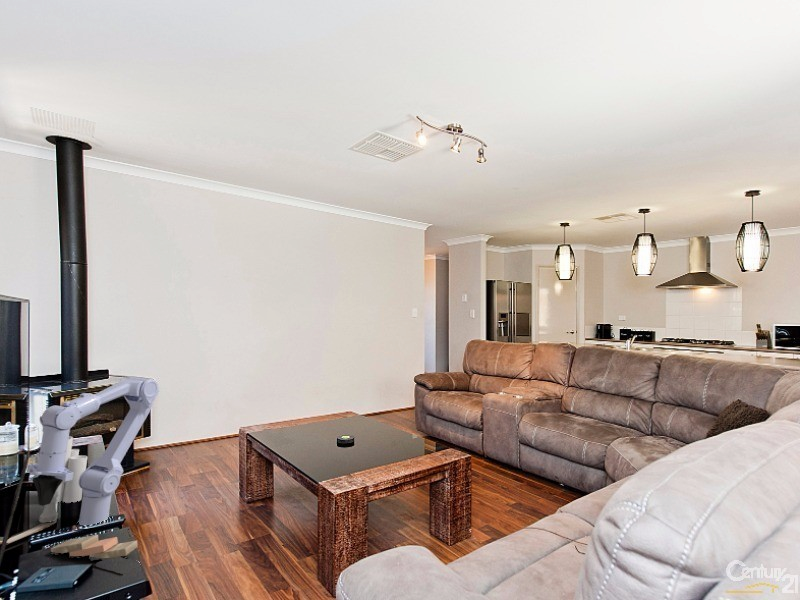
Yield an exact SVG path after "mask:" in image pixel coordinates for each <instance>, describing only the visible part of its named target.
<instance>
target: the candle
mask: <svg viewBox="0 0 800 600" xmlns="http://www.w3.org/2000/svg"><path fill="white" fill-rule="evenodd" d="M73 441H74V437H73V436H71V435H69V438H68V445H67V451H66V457H65V463H64V467H65V468H66V469H68V470H69V471H71V472H73V479H72V480H69V481H66V482H64V481H62V483H61V484H60V485H59V487H58V488H57V490H56V491H57V492H58V495H59V496H58V497H57V498H56V500H57V501H56V504H58V503H57V502H59V503H64V502H65V504H70V503H71V502H73V503H76V502H77V501H78V502H80V501H82V499H83V493H82V488H80V486H79V478H80V476H81V474H82V473H83V472H84V471H85V470H86V469H87V465H88V464H87V463H88V456H87V455H79V454H80V453H79V452H80V449H79V448H73ZM55 493H56V492H55ZM61 501H62V502H61Z"/></svg>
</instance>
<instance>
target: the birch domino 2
mask: <svg viewBox="0 0 800 600" xmlns="http://www.w3.org/2000/svg"><path fill="white" fill-rule="evenodd" d="M138 545H139V544H138V540H132V541H125V542H121V543H117V544H116V545H114V546H112V547H111V548H109V549H108V550H106V551H104V552H101V553H96V554H91V555H89V558H90V557H96V558H114V557H119V556H122V557H126V556H127V555H129V554H130V553H132V552H133V551H134V550H135V549H136V548H138Z"/></svg>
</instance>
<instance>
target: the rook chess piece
mask: <svg viewBox="0 0 800 600" xmlns="http://www.w3.org/2000/svg"><path fill="white" fill-rule="evenodd" d="M58 496H59V495H58V492H57V491H56V493H55V494H54V496H53V499H52V501H51V503H50V504H47V505H44V509H43V511H42V512H41V514H39V519H38V521H39V523H42V524H46V523H45V522H50V521H53V520H55V519H56V520H57V519H58V517H59V516H58V515H59V513H58V512H57V510H56V509H57V508H56V506H57V503H56V501H57V500H56V498H57V497H58ZM56 520H55V521H56ZM53 522H54V521H53ZM50 523H51V522H50Z"/></svg>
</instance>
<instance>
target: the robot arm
mask: <svg viewBox="0 0 800 600" xmlns="http://www.w3.org/2000/svg"><path fill="white" fill-rule="evenodd" d="M159 392H160V390H159V384H158V382H157V380H155V379H153V378H143V377H137V376H133V375H129V376H127V377H125V378H122V379H120V380H119V381H118V382H117V383H114V384H113V385H111V386H109V387H107V388H105V389H103V390H101V391H99V392H97V393H95V394H93V393H90V392H89V393H86V392H82V393H80V394H79V396H78V397H76V398H73V399H72V400H69V401H67V400H66V401H64V402H63V403H62V404H61V405H52V406H49V407H47V408H46V409H45V410H44V411H43V413H42V415H41V416H40V417H39V422H40V424H41V425H42V430H41V431H42V438H41V445H40V450H39V456H38V463H36V462H35V463H29V464H28V465H27V469H26V472H27V473H31V474H32V475H34V477H33V478H32V483H33V484H34V486H35V489H36V493H37V501H38V505H39V506H44V507H45V505H47V504H50V503H51V501H52V499H53V496H54V494H55V492H56V490H57V488H58V487H59V485H60V484H61V483H62V481H64V482H66V481H69V480H72V479H73V472H71V471H69V470H68V469H66V468H65V467H64V463H65V457H66V451H67V445H68V438H69V436H70V431H71V428H72V427H74V426H75V425H76V423H77V421H79V420H80V419H83V418H85V417H87V416H89V415H91V414H93V413H96V412H97V411H99V408H100V406H101V405H103V404H106V403H109V402H110V401H113V400H115V399H119V398H121V397H124V399H125V400H126V402H127V404H128V405H129V408H130V409H129V411H128V412H127V414H126V415H125V417H124V419H123V420H122V422H121V424H120V426H119V428H118V429H117V431H116V433H115V434H114V436H113V437H112V439H111V441H110V442H109V444H108V445H107V448H106V449H105V450H104V452H103V454H102V456H101V457H98V458H97V459H95V460H93V461H91V463H90V464H89V466H88V467H86V470H85V471H84V472H83V473H82V474H81V476H80V478H79V486H80V488H82V499H81V506H80V512H79V513H80V514H79V519H78V521H77V523H78V522H79V524H80V525H91V524H95V523H99V522H102V521H104V520H107V519H108V517H109V514H110V509H111V500H112V495H113V494H114V492H115V491H116V490H117V488H118V487H119V485H120V482H121V477H122V475H123V473H124V468H123V466H122V465H121V463H122V461H123V459H124V457H125V456H126V453H128V450H129V448H130V447H131V445H132V443H133V442H134V440H135V438H136V436H137V435H138V433H139V431H140V429H141V428H142V427H143V424H144V423H145V421H146V419H147V417H148V415H149V414H150V412H151V409H152V408H153V402H154V401H155V399H156V398H157V396H158V394H159ZM35 476H36V477H35Z"/></svg>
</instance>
